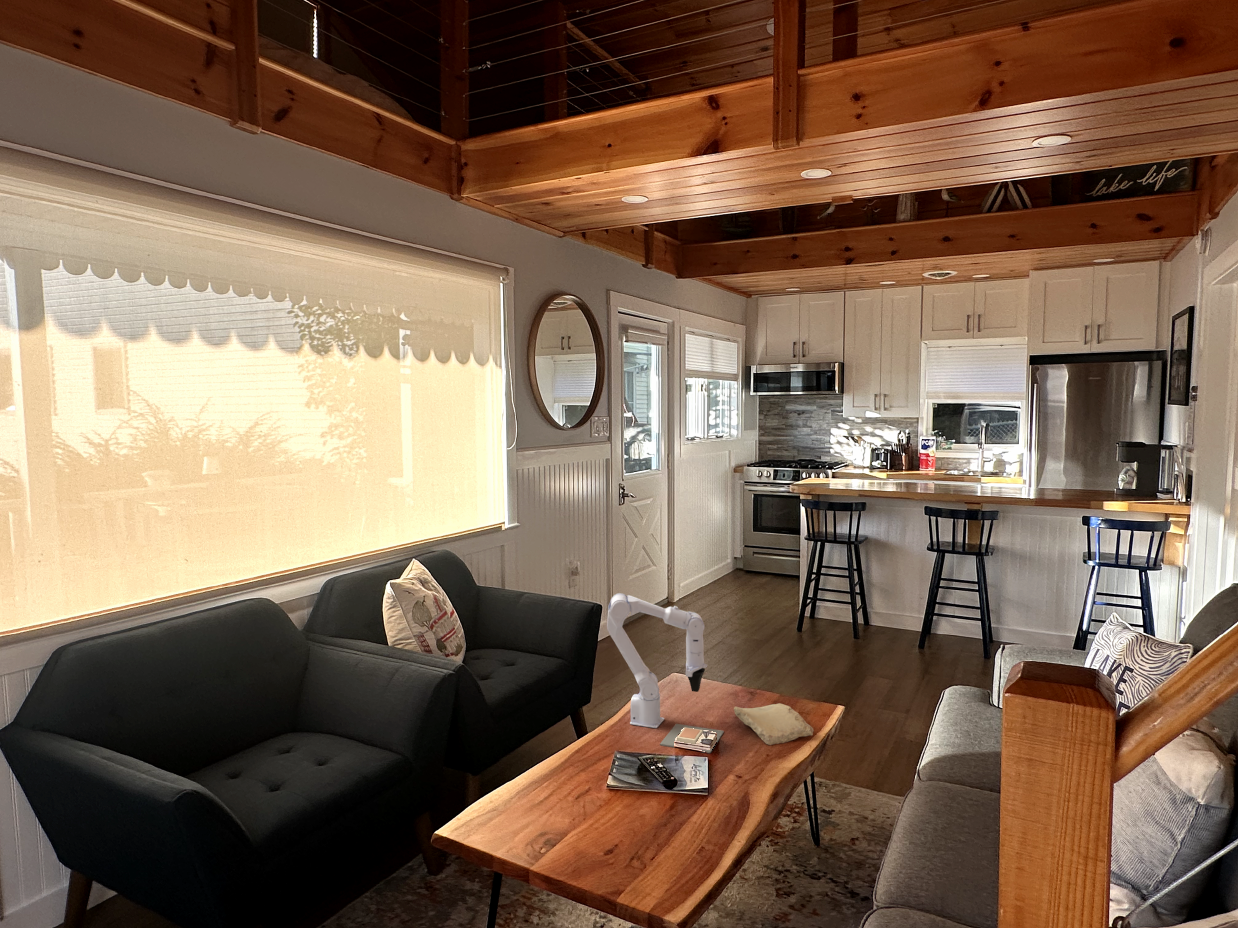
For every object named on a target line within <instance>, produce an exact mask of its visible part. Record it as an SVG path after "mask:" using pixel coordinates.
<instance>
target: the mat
mask: <svg viewBox="0 0 1238 928" xmlns="http://www.w3.org/2000/svg"><path fill="white" fill-rule="evenodd" d="M684 727H686V728H694V729H699V730H709V731H713V732H716V733H717V741H716V742H717V743H718V742H719V740H720V738H721V737H723V735H724V732H725V731H724V730H721V729H720V730H719V729H715V728H707V727H703V726H702V727H701V726H696V725H695V726H694V725H687V724H682V723H681V724H680V723H675V725H673V727H672V728H671V730H669V732H668V733H667V734H666V736H665V737H664V738H663V739H662V740H661V742H660V743H659V746H663V747H668V748H674V741H675V738H676V737H677V735H678V734H679V733H680V732H681V729H683V728H684ZM714 746H715V747H716V745H714ZM714 746H713V747H714ZM715 747H714V748H715ZM714 748H712V749H713V750H714ZM712 749H710V750H702V751H705V752H707V753H706V754H711V753H712V752H713V750H712ZM705 752H704V753H705Z"/></svg>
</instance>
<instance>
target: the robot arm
mask: <svg viewBox="0 0 1238 928" xmlns="http://www.w3.org/2000/svg"><path fill="white" fill-rule="evenodd" d="M639 613H642V614H646V615H650V616H654V617H656V618H659V619H662V620H663V622H664V624H666V625H670V626H673V627H675V628H679V629H681V630H686V636H685V655H686V657H685V658H686V659H685V661H686V663H685V671H684V672H685V677H687V678H688V681H689V684H690V685H689V686H690V688H691V692H695V693H698V692H699V691H700V688H701V682H702V679H703V675H704V673H705V671H706V668H708V663H705V656H704V655H705V654H704V651H705V650H704V649H705V648H704V647H705V646H704V636H703V635H704V631H705V628H706V625H705V622H704V620H703V619H702V616H701V615H700V613H699V614H698V613H697V612H695V611H686V610H682V609H680V608H679V607H678V606H676V605H673V606H671V605H670V606H668V607H666V608H665V607H662V606H659V605H656V604H654V603H651V602H650V601H649V602H648V601H645V600H643V599H642V598H641V599H640V598H639V597H635V596H633V595H631V594H630V595H629V594H627V595H626V594H625V593H620V592H618V593H615V594H614V595H613V596H612V597H611V598H610V601H609V604H608V606H607V620H606V621H607V622H606V629H607V630H606V631H607V632H608V633H609V636H610V637H611V639H612V640H613V642H614V644H615V646H616V647H617V649H618V651H619V652H620V654H621V655H622V657H623V659H624V661H625V662H626V663H627V665H628V668H629V669H630V671H631V672H632V674H633V676H634V678H635V681H636V683H637V685H638V686H639V693H634V694H633V695H632V697H631V699H630V721H629V724H630V725H634V726H640V727H646V728H652V729H657V728H659V726H660V725H661V724H662V723H663V721H665V717H661V694H660V687H659V683H658V681H659V680H658V677H657V675H656V674H655V673H653V672H652V671H650V669H649V667H648V666H647V665H646V663H645V662H644V661H643V659H642V658H641V656H640V654H639V652H638V651H637V648H635V647H636V646H634V643H632V641H631V639H630V638H629V635H628V634H627V632H626V631H625V629H624V628H623V625H624V622H625V621H626V619H627V617H628V616H629V614H630V615H631V616H633V615H635V614H639Z"/></svg>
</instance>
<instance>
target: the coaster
mask: <svg viewBox="0 0 1238 928" xmlns="http://www.w3.org/2000/svg"><path fill="white" fill-rule="evenodd" d="M702 733H703V730H699V729H693V728H686V727H684V729H683V730H682V731H681V732H680V734H679V735H678V736H677V741H680V742H684V743H691V744H696V742H697V741H698V739H699V737H700V736H701V735H702Z"/></svg>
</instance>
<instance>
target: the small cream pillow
mask: <svg viewBox="0 0 1238 928" xmlns="http://www.w3.org/2000/svg"><path fill="white" fill-rule="evenodd" d="M733 711H734V714H735V715H736V717H737V718H739V721H741V722H742V723H743V724H744V725H745V726H747V727H750V728H751V729H752V731H754V732H755V734H756V735H757V736H758V738H760V739H761V740H762V741H763V742H764V743H765V744H766V745H768V746H772V745H775V744H777V745H779V744H784V743H788V742H791V741H793V740H797V739H798V738H799V737H809V736H813V734H814V731H815V730H814V728H813V727H812V725H810V724H808V723H807V722H806V720H805V719H804V718H803V717H802V716H801V714H800V713H799V712H797V711H796V710H794V709H793V708H792V707H791V706H789V705H786V704H783V703H776V704H775V703H774V704H769V705H763V706H760V707H753V708H748V707H745V708H743V707H738V706H734V708H733Z"/></svg>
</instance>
